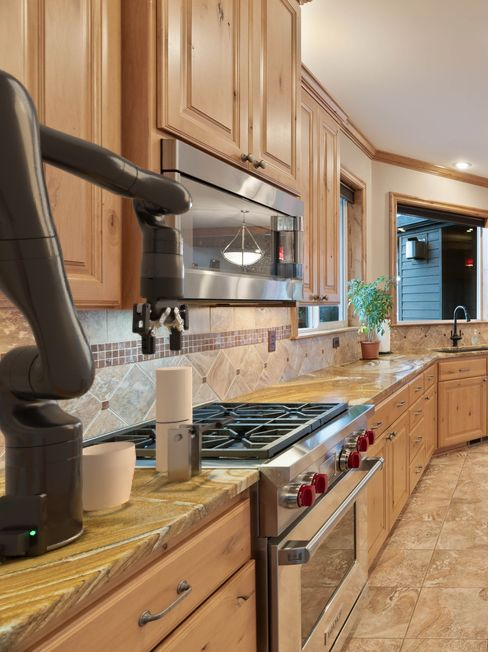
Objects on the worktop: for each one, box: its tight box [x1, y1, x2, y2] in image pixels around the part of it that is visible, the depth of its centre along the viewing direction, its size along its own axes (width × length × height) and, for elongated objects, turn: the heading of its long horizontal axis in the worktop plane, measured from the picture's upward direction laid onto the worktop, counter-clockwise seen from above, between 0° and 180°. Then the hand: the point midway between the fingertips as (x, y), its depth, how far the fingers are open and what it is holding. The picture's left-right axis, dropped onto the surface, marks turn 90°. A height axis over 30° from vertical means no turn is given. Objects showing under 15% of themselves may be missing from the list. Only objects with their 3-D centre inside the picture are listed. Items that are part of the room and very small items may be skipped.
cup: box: [83, 441, 137, 512], centre depth 91 cm, size 9×9×12 cm
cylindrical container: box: [155, 365, 193, 473], centre depth 112 cm, size 7×7×25 cm
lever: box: [189, 415, 235, 438], centre depth 105 cm, size 11×6×2 cm, turn 95°
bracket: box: [167, 423, 203, 483], centre depth 104 cm, size 8×9×13 cm
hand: (162, 352), depth 98 cm, fingers open, 8 cm apart
